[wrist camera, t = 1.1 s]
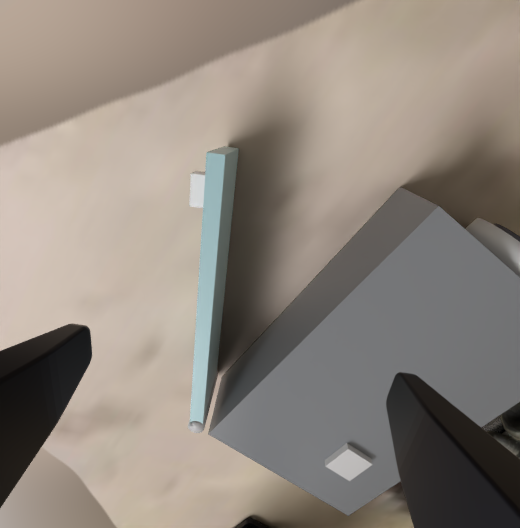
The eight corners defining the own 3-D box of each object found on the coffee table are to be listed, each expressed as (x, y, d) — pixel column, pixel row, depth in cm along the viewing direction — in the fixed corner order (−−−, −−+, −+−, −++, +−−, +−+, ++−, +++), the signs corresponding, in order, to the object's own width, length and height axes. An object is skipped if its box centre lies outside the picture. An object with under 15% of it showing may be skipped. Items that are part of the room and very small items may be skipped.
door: (217, 379, 25) (203, 434, 20) (192, 375, 25) (173, 429, 20) (240, 148, 18) (227, 155, 14) (206, 143, 18) (183, 148, 14)
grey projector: (336, 449, 27) (349, 522, 22) (221, 377, 25) (206, 439, 20) (551, 283, 20) (637, 333, 16) (420, 165, 18) (472, 178, 13)
